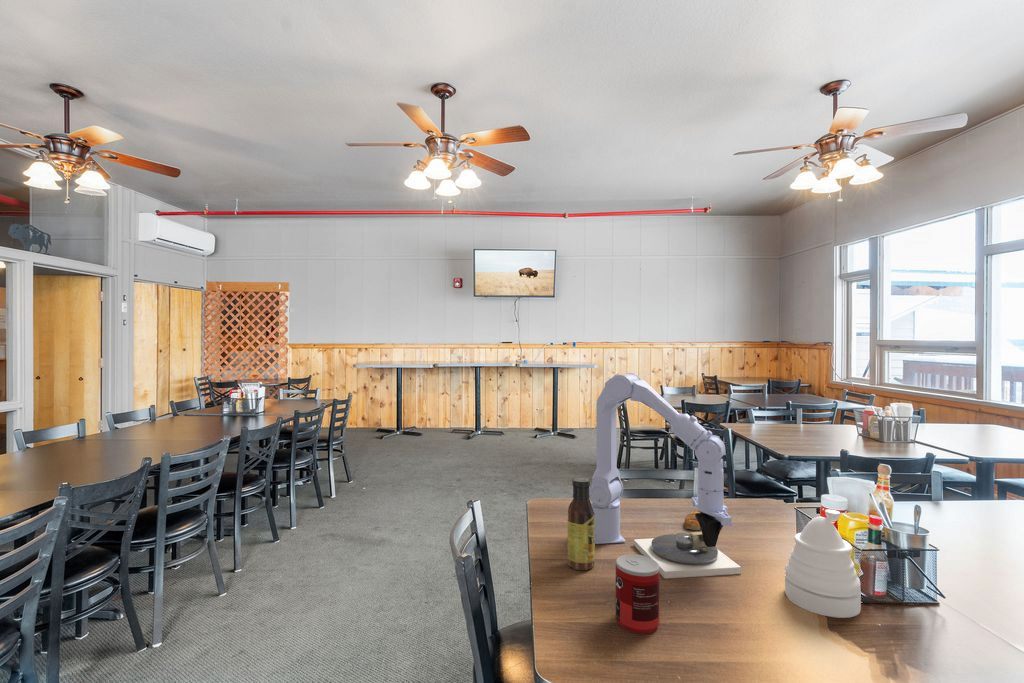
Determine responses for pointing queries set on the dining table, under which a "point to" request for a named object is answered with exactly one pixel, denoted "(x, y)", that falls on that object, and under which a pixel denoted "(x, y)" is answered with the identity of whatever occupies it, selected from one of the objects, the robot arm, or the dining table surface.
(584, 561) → the sauce bottle
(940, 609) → the dining table surface
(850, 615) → the honey pot
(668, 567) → the base
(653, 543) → the handwheel
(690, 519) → the pastry
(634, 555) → the canned food
